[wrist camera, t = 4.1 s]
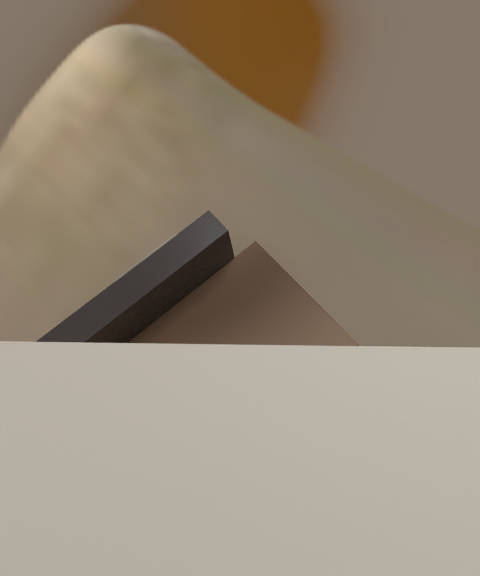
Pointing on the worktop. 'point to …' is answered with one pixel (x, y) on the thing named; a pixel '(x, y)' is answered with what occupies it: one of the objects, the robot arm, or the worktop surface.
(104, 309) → the rail
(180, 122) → the worktop surface
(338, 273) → the worktop surface
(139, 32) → the worktop surface
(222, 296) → the shelf board
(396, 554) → the carton
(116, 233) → the worktop surface
